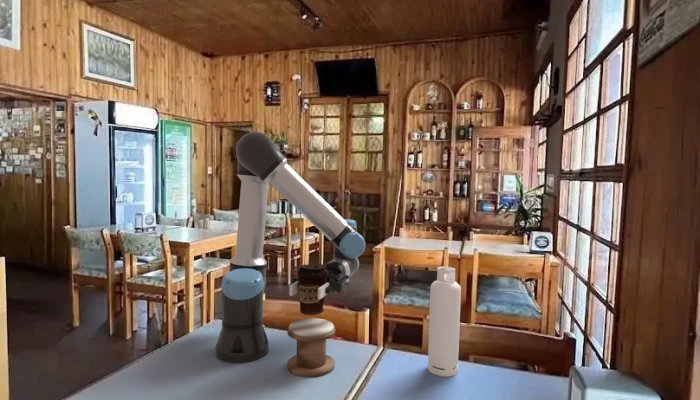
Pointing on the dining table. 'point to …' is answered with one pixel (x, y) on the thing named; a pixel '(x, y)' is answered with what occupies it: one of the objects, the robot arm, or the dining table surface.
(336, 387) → the dining table surface
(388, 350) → the dining table surface
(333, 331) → the cup pedestal
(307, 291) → the coffee cup
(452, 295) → the bottle
